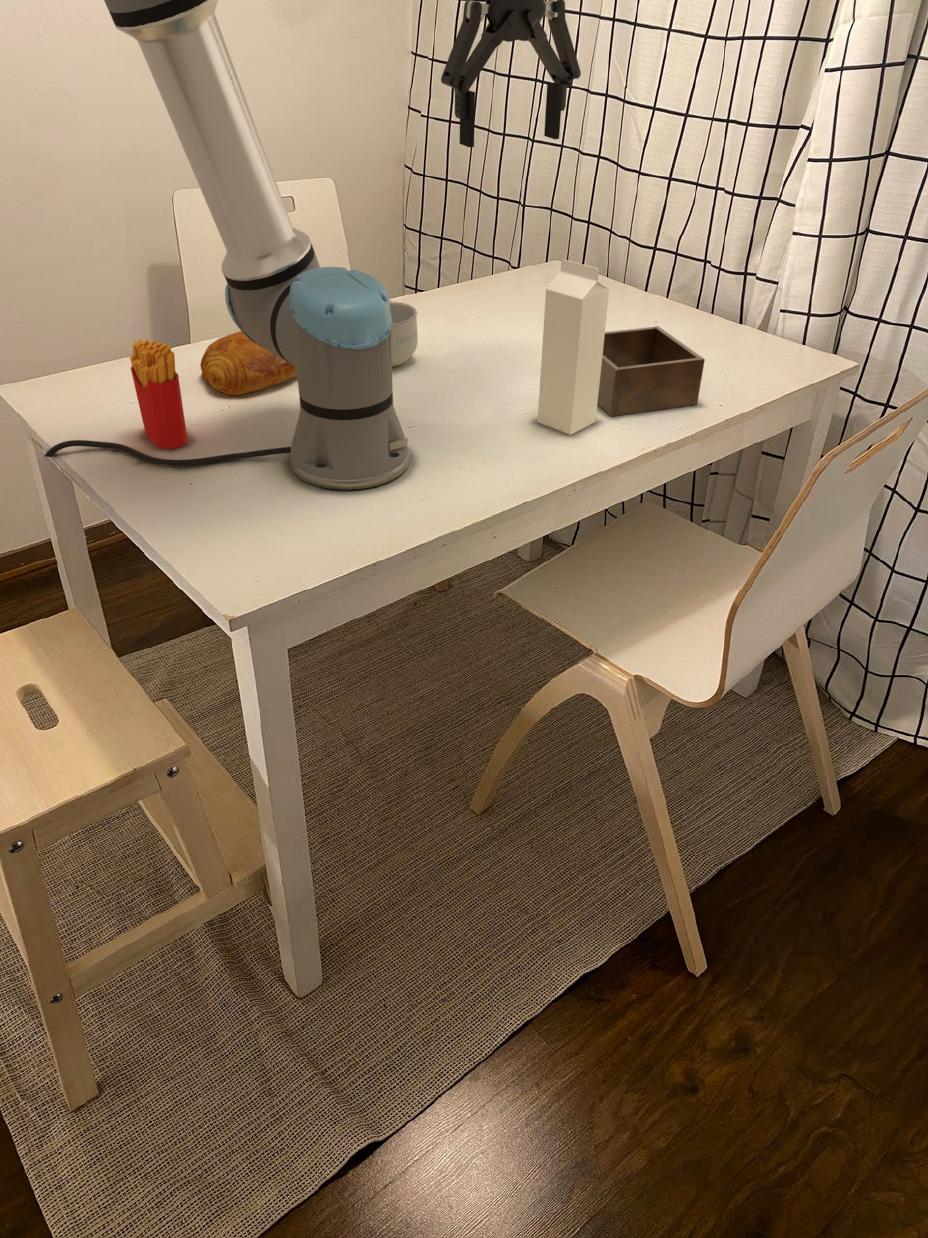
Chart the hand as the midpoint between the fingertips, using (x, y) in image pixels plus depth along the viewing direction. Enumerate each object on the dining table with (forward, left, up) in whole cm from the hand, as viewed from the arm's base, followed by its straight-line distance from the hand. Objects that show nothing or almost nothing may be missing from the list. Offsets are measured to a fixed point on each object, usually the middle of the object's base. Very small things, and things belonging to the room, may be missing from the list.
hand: (510, 141), depth 132 cm
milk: (+2, -21, -33) cm, 39 cm away
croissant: (-38, +8, -33) cm, 51 cm away
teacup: (-16, +10, -33) cm, 38 cm away
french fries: (-52, -10, -33) cm, 62 cm away
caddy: (+16, -14, -33) cm, 39 cm away
